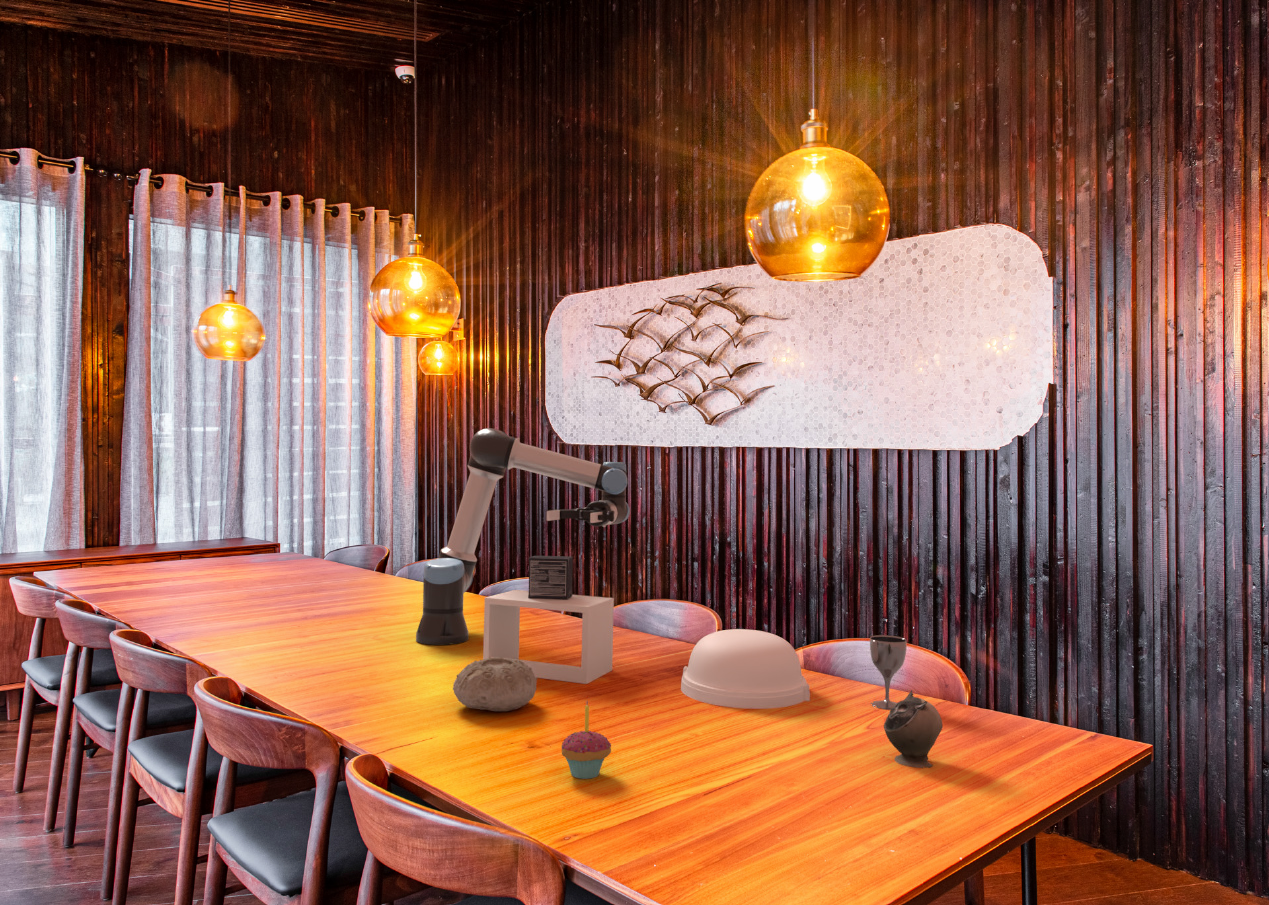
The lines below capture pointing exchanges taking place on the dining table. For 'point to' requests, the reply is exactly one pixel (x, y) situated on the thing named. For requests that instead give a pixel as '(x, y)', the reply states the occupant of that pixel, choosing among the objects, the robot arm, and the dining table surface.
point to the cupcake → (585, 751)
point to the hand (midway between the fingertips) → (569, 516)
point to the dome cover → (744, 671)
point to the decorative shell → (495, 684)
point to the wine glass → (887, 661)
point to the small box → (550, 577)
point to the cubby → (595, 617)
